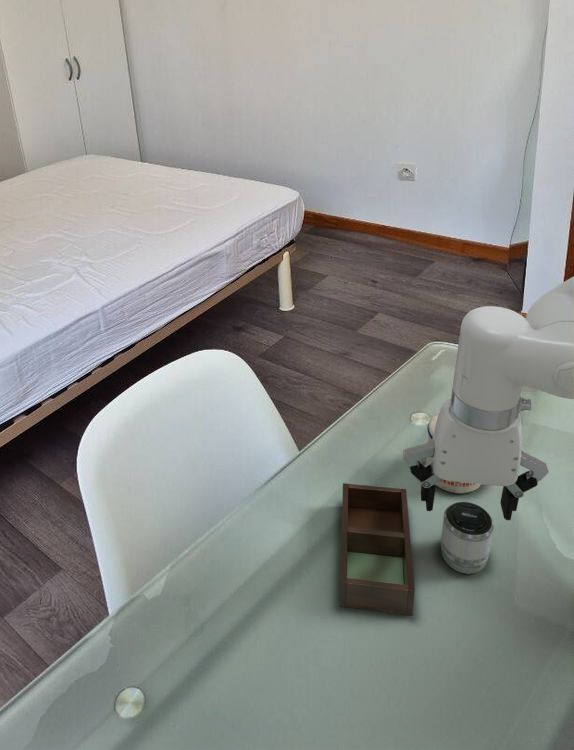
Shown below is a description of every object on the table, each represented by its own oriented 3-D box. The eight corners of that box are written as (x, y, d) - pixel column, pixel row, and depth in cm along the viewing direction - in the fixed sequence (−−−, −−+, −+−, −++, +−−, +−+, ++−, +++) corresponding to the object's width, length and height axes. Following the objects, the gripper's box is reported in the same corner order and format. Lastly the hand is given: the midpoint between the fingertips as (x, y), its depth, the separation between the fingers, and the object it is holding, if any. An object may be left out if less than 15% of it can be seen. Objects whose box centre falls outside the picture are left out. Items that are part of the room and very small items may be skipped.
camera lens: (489, 580, 91) (496, 538, 88) (439, 570, 93) (444, 528, 90) (487, 543, 96) (493, 501, 93) (439, 534, 98) (444, 493, 95)
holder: (404, 511, 103) (406, 488, 101) (412, 615, 87) (414, 591, 85) (342, 505, 105) (342, 482, 103) (339, 606, 89) (340, 582, 87)
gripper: (552, 391, 85) (530, 494, 92) (407, 380, 88) (397, 480, 96) (569, 431, 78) (543, 538, 86) (411, 417, 82) (400, 521, 89)
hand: (466, 507), depth 91 cm, fingers open, 9 cm apart
